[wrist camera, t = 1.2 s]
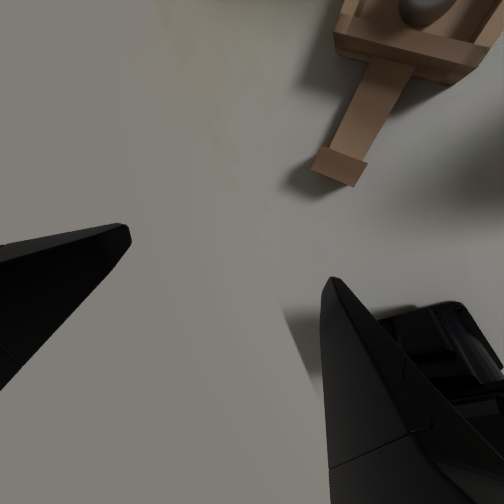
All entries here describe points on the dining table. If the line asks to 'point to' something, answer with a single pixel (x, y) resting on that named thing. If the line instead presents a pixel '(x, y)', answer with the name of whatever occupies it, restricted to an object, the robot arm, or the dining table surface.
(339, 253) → the dining table surface
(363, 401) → the robot arm
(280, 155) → the dining table surface
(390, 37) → the wooden box with handle
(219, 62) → the dining table surface
